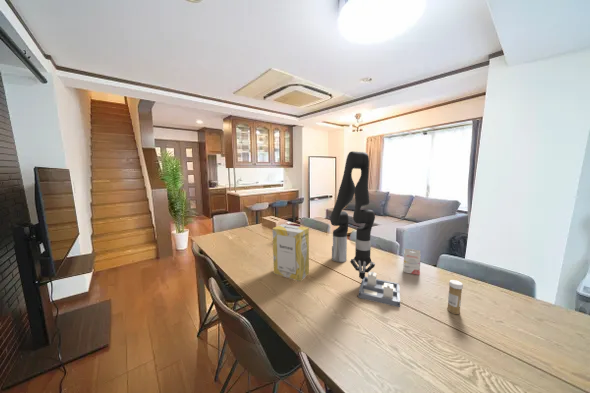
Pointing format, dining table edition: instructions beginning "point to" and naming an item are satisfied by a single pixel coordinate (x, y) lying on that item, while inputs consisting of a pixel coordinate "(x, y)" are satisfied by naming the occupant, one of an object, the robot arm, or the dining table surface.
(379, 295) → the switch bank
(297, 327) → the dining table surface
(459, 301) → the sprinkles bottle
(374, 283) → the tab far
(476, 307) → the dining table surface
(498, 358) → the dining table surface
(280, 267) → the pasta box
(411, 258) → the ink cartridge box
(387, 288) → the tab near
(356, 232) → the robot arm
